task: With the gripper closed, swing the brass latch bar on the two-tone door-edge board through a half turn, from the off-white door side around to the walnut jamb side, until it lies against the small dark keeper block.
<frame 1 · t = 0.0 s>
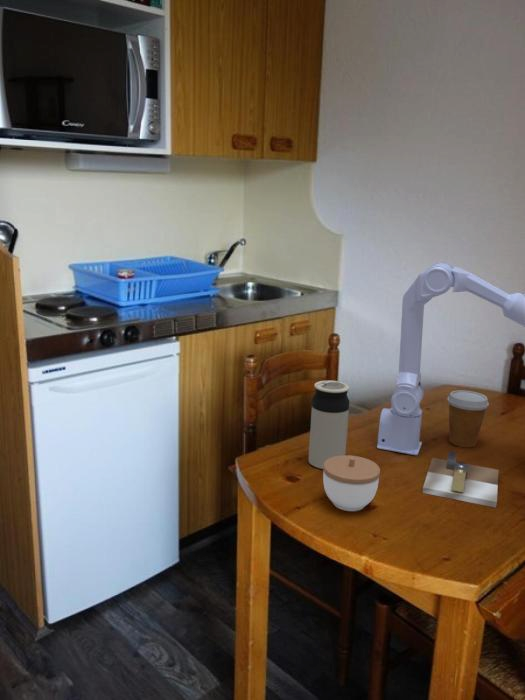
lidded jar: (348, 504, 119), on the table
latch bar: (459, 476, 126), point 3 cm above the table, hinge at 0.0°
door edge board: (459, 483, 129), on the table
keeper block: (450, 470, 135), resting on door edge board
disposable coffee cup: (462, 443, 151), on the table
travel mug: (326, 463, 136), on the table
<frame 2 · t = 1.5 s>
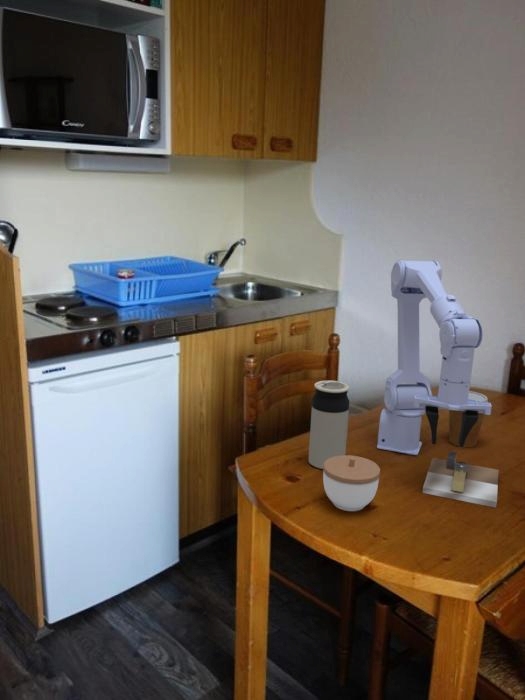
hand: (447, 443, 124), 10 cm above the table, tool pointing down, fingers open, 5 cm apart
nothing on the table moved.
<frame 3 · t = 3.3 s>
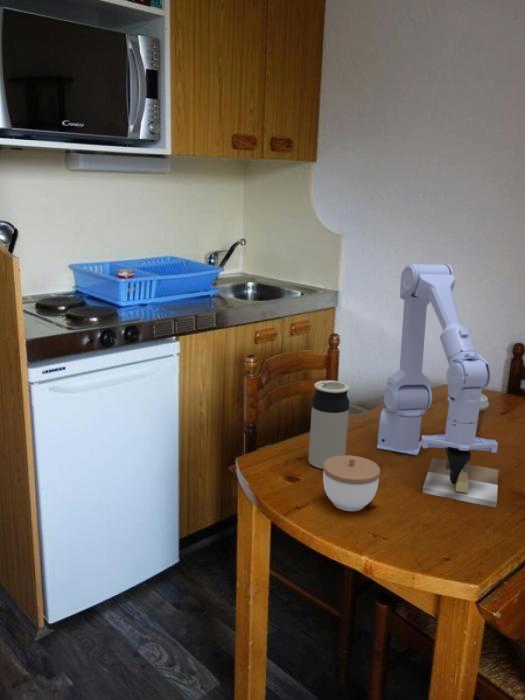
hand: (453, 481, 125), 2 cm above the table, tool pointing down, fingers closed, pressing on latch bar
latch bar: (461, 476, 126), point 3 cm above the table, hinge at 6.7°, touching gripper
everything else where it was.
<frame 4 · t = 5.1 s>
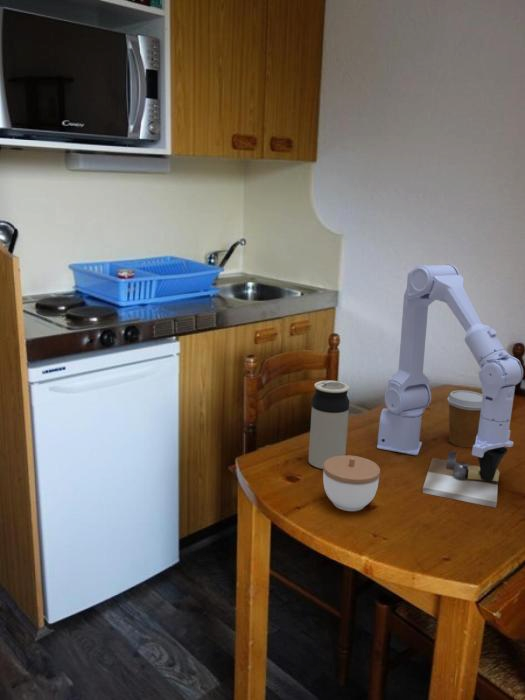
hand: (486, 479, 126), 2 cm above the table, tool pointing down, fingers closed, pressing on latch bar
latch bar: (475, 471, 128), point 3 cm above the table, hinge at 105.9°, touching gripper
everything else where it was.
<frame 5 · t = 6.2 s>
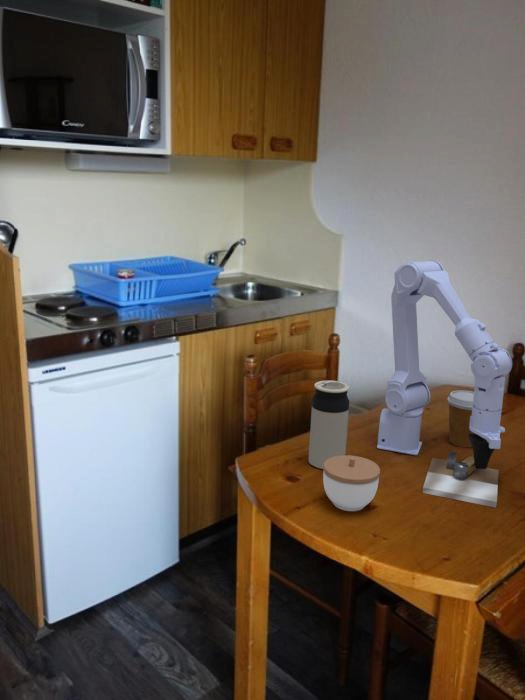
hand: (480, 468, 131), 2 cm above the table, tool pointing down, fingers closed, pressing on latch bar
latch bar: (466, 465, 131), point 3 cm above the table, hinge at 161.0°, touching gripper
everything else where it was.
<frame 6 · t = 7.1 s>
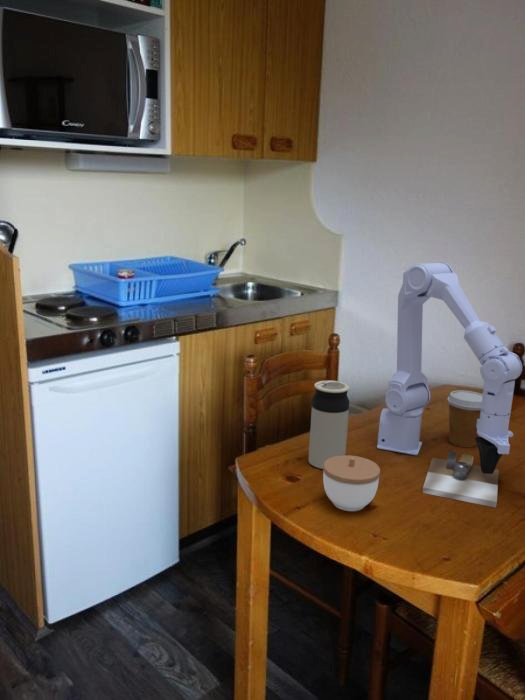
hand: (487, 472, 130), 2 cm above the table, tool pointing down, fingers closed
latch bar: (463, 465, 131), point 3 cm above the table, hinge at 172.7°
everything else where it was.
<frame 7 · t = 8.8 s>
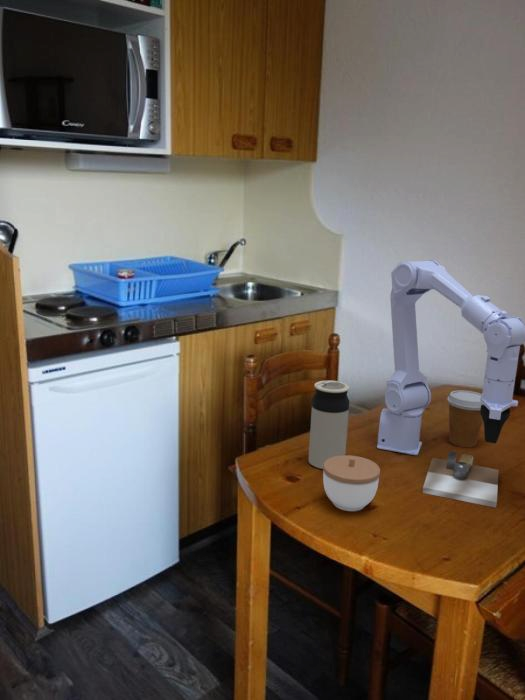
hand: (490, 441, 126), 10 cm above the table, tool pointing down, fingers closed
nothing on the table moved.
at the end: latch bar at +173° (first picture: +0°); the gripper is holding nothing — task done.
